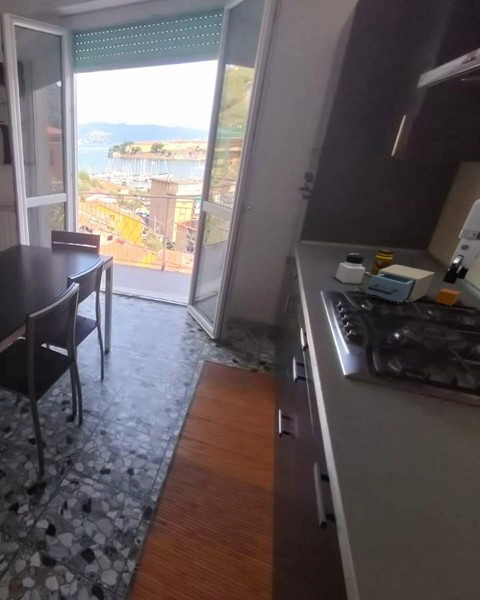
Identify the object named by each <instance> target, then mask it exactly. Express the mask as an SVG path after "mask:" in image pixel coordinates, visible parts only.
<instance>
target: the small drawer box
mask: <svg viewBox="0 0 480 600" xmlns="http://www.w3.org/2000/svg"><path fill="white" fill-rule="evenodd" d="M382 273H386V274H390V275H395V276H399V277H403V278H407V279H411V280H416V282H415V284H414V287H413V289H412V292H411V294H410V297H409V298H407V299H405V300H403V302H405V303H409V301H412V302H414V301H417V300H418V299H421V298H423V297H425V296H426V294H427V293H428V290H429V287H430V285H431V283H432V280H433V278H434V275H435V272H433V271H429V270H424V269H420V268H414V267H410V266H406V265H401V264H391V266H389V267H387V268H384V269H381V270H379V273H378V275H380V274H382ZM408 299H413V300H408Z"/></svg>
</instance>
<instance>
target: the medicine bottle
mask: <svg viewBox="0 0 480 600" xmlns="http://www.w3.org/2000/svg"><path fill="white" fill-rule="evenodd" d="M364 260H365V256H364V255H362V254H360V253H348V254H347V255H346V258H345V261H344V262H339V265H338V267H337V271H336V275H335V278H336V279H337V280H338V281H340V282H341V283H342V284H353V285H354V284H356V285H357V284H358V285H362V281H363V280H364V279H363V278H364V276H365V274H366V273H365V272H366V269H367V268H365V267H364V266H363V263H364Z"/></svg>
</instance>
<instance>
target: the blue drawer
mask: <svg viewBox="0 0 480 600" xmlns="http://www.w3.org/2000/svg"><path fill="white" fill-rule="evenodd" d="M415 282H416V280H411V279H407V278H403V277H399V276H395V275H390V274H386V273H382V274H380V275H377V276H375V275H372V276H370V279H369V283H368V285H367V289H366V291H365V294H366V293H367V294H366V295H367V296H369V297H372V296H371V295H377V296H380V297H383V298H386V299H389V300H393V301H397V302H402V303H401V304H399V303H397V304H398V305H402V304H403V302H404V301H403V300H404V299H406V298H409V297H410V294H411V292H412V289H413V287H414V284H415ZM368 294H371V295H368ZM373 297H375V296H373ZM375 298H378V297H375ZM378 299H379V298H378ZM383 300H385V299H383ZM385 301H386V300H385ZM390 302H392V301H390ZM392 303H393V302H392Z"/></svg>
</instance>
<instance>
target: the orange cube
mask: <svg viewBox="0 0 480 600" xmlns="http://www.w3.org/2000/svg"><path fill="white" fill-rule="evenodd" d="M460 294H461V291H457V290H454V289H449V288H442V289H440V290H439V292H438V294H437V296H436V299H435V303H439V304H443V305H447V306H454V305H455V304H456V303H457V301H458V299H459V297H460ZM440 299H441V300H442V301H441V300H440Z"/></svg>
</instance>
